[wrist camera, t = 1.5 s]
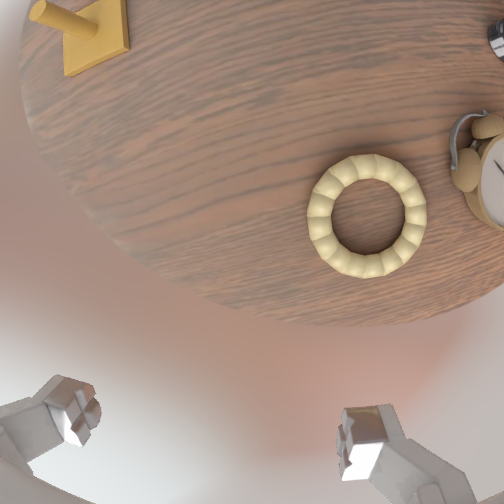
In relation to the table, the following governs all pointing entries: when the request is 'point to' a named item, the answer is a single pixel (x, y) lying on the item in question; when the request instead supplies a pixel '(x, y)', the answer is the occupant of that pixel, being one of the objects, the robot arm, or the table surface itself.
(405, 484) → the robot arm
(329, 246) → the segmented cream ring
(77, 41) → the square base peg post
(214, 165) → the table surface
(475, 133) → the alarm clock
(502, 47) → the pill bottle
